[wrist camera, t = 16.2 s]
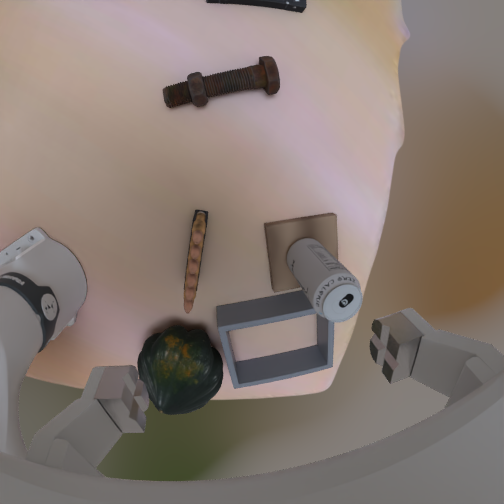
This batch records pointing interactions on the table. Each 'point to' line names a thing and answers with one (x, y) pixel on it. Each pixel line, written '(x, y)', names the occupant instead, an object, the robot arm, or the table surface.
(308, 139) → the table surface
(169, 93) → the bolt
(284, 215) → the table surface
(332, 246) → the walnut pad
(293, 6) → the disk drive
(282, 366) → the grey rectangular open frame
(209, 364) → the squash
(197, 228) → the ammunition clip
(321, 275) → the energy drink can
